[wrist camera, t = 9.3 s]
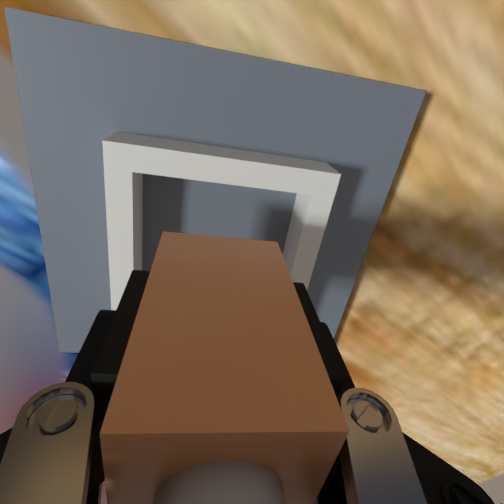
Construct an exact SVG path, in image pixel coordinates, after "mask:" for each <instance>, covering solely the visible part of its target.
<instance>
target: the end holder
mask: <svg viewBox="0 0 504 504" xmlns="http://www.w3.org/2000/svg"><path fill="white" fill-rule="evenodd" d="M4 8H5V14H6V20H7V26H8V33H9V39H10V45H11V51H12V58H13V64H14V70H15V76H16V82H17V88H18V95H19V101H20V107H21V113H22V120H23V126H24V132H25V139H26V145H27V151H28V157H29V164H30V170H31V176H32V182H33V189H34V195H35V201H36V207H37V214H38V220H39V226H40V232H41V239H42V245H43V251H44V257H45V264H46V270H47V276H48V282H49V289H50V295H51V301H52V307H53V314H54V320H55V326H56V332H57V339H58V345H59V351H60V352H78V353H79V352H80V350H81V347H82V345H83V343H84V341H85V339H86V337H87V335H88V333H89V331H90V328H91V326H92V324H93V322H94V320H95V318H96V316H97V314H98V312H99V311H100V310H117V307H118V305H119V302H120V300H121V297H122V295H123V292H124V290H125V287H126V285H127V282H128V280H129V277H130V275H131V273H132V270H144V271H151V268H152V264H153V261H154V258H155V255H156V252H157V248H158V245H159V242H160V239H161V236H162V232H163V231H166V232H176V233H187V234H198V235H209V236H220V237H231V238H242V239H252V240H263V241H274V242H278V244H279V247H280V250H281V252H282V255H283V258H284V260H285V263H286V266H287V268H288V271H289V273H290V276H291V279H292V281H293V282H298V283H304V285H305V287H306V290H307V292H308V294H309V297H310V299H311V301H312V304H313V306H314V308H315V311H316V313H317V315H318V318H319V320H320V322H324V323H326V324H327V326H328V328H329V330H330V332H331V334H332V337H333V339H334V336H335V334H336V331H337V328H338V326H339V323H340V320H341V318H342V315H343V312H344V310H345V307H346V304H347V302H348V299H349V296H350V294H351V291H352V288H353V286H354V283H355V280H356V278H357V275H358V272H359V270H360V267H361V264H362V262H363V259H364V256H365V254H366V251H367V248H368V246H369V243H370V240H371V238H372V235H373V232H374V230H375V227H376V224H377V222H378V219H379V216H380V214H381V211H382V208H383V206H384V203H385V200H386V198H387V195H388V192H389V190H390V187H391V184H392V182H393V179H394V176H395V174H396V171H397V168H398V166H399V163H400V160H401V158H402V155H403V152H404V149H405V147H406V144H407V141H408V139H409V136H410V133H411V131H412V128H413V125H414V123H415V120H416V117H417V115H418V112H419V109H420V107H421V104H422V101H423V99H424V96H425V93H426V91H425V90H420V89H415V88H410V87H405V86H400V85H395V84H390V83H385V82H380V81H375V80H370V79H365V78H360V77H355V76H350V75H345V74H340V73H335V72H330V71H325V70H320V69H315V68H310V67H305V66H300V65H295V64H290V63H284V62H279V61H274V60H269V59H264V58H259V57H254V56H249V55H244V54H239V53H234V52H229V51H224V50H219V49H214V48H209V47H204V46H199V45H194V44H189V43H184V42H179V41H174V40H169V39H164V38H159V37H154V36H149V35H144V34H139V33H134V32H129V31H124V30H119V29H114V28H109V27H104V26H99V25H94V24H89V23H84V22H79V21H74V20H68V19H63V18H58V17H53V16H48V15H43V14H38V13H33V12H28V11H23V10H18V9H13V8H8V7H4Z"/></svg>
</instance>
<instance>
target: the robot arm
mask: <svg viewBox="0 0 504 504" xmlns="http://www.w3.org/2000/svg"><path fill="white" fill-rule="evenodd" d="M149 274H150V271H144V270H132V273H131V275H130V277H129V280H128V282H127V285H126V287H125V290H124V292H123V295H122V297H121V300H120V302H119V305H118V307H117V310H100V311H99V312H98V314H97V316H96V318H95V320H94V322H93V324H92V326H91V328H90V331H89V333H88V335H87V337H86V339H85V341H84V343H83V345H82V347H81V350H80V352H79V354H78V356H77V358H76V360H75V362H74V364H73V366H72V369H71V371H70V373H69V375H68V377H67V379H66V381H65V382H61V383H57V384H53V385H50V386H48V387H46V388H43V389H42V390H40V391H38V392H37V393H35V394H34V395H33V396H31V397H30V398H29V399H28V400H27V401H26V402H25V403H24V404H23V406H22V407H21V409H20V411H19V413H18V415H17V417H16V420H15V423H14V426H13V427H12V428H11V429H9V430H7V431H6V432H4V433H2V434H0V504H101V494H102V482H103V481H105V477H104V468H103V460H102V451H101V442H100V431H101V428H102V425H103V421H104V418H105V415H106V412H107V409H108V405H109V402H110V399H111V396H112V393H113V389H114V386H115V383H116V380H117V377H118V373H119V370H120V367H121V364H122V360H123V357H124V354H125V351H126V348H127V344H128V341H129V338H130V335H131V332H132V328H133V325H134V322H135V319H136V316H137V312H138V309H139V306H140V303H141V300H142V296H143V293H144V290H145V287H146V284H147V280H148V277H149ZM293 284H294V287H295V289H296V292H297V295H298V297H299V300H300V302H301V305H302V308H303V310H304V313H305V316H306V318H307V321H308V324H309V326H310V329H311V331H312V334H313V337H314V339H315V342H316V345H317V347H318V350H319V353H320V355H321V358H322V360H323V363H324V366H325V368H326V371H327V374H328V376H329V379H330V382H331V384H332V387H333V389H334V392H335V395H336V397H337V400H338V403H339V405H340V408H341V411H342V413H343V416H344V418H345V421H346V424H347V426H348V429H349V433H348V435H347V437H346V439H345V441H344V443H343V445H342V447H341V450H340V452H339V454H338V456H337V458H336V460H335V462H334V464H333V466H332V468H331V470H330V472H329V474H328V476H327V478H326V480H325V482H324V484H323V486H322V488H321V490H320V492H319V494H318V496H317V498H316V501H315V503H314V504H494V502H493V501H492V499H491V498H490V497H489V496H488V495H487V493H486V492H485V491H484V490H483V489H482V488H481V487H480V486H479V485H477V484H476V483H475V482H474V481H472V480H471V479H470V478H468V477H467V476H465V475H464V474H462V473H461V472H460V471H458V470H457V469H455V468H454V467H452V466H451V465H449V464H448V463H446V462H445V461H444V460H442V459H441V458H439V457H438V456H436V455H435V454H433V453H432V452H430V451H429V450H428V449H426V448H425V447H423V446H422V445H420V444H419V443H417V442H416V441H414V440H413V439H412V438H410V437H409V436H407V435H406V434H404V433H403V432H402V430H401V427H400V424H399V421H398V418H397V416H396V414H395V412H394V410H393V408H392V407H391V406H390V405H389V403H388V402H387V401H386V400H385V399H383V398H382V397H381V396H380V395H378V394H376V393H375V392H373V391H371V390H368V389H364V388H355V386H354V384H353V381H352V379H351V377H350V375H349V372H348V370H347V368H346V366H345V363H344V361H343V359H342V357H341V355H340V352H339V350H338V348H337V346H336V343H335V341H334V339H333V337H332V334H331V332H330V330H329V328H328V326H327V324H326V323H324V322H320V320H319V318H318V315H317V313H316V311H315V308H314V306H313V304H312V301H311V299H310V297H309V294H308V292H307V290H306V287H305V285H304V283H298V282H293ZM501 504H502V503H501Z"/></svg>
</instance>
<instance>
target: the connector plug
mask: <svg viewBox="0 0 504 504" xmlns="http://www.w3.org/2000/svg"><path fill="white" fill-rule="evenodd" d="M348 433H349V429H348V426H347V424H346V421H345V418H344V416H343V413H342V411H341V408H340V405H339V403H338V400H337V397H336V395H335V392H334V389H333V387H332V384H331V382H330V379H329V376H328V374H327V371H326V368H325V366H324V363H323V360H322V358H321V355H320V353H319V350H318V347H317V345H316V342H315V339H314V337H313V334H312V331H311V329H310V326H309V324H308V321H307V318H306V316H305V313H304V310H303V308H302V305H301V302H300V300H299V297H298V295H297V292H296V289H295V287H294V284H293V281H292V279H291V276H290V273H289V271H288V268H287V266H286V263H285V260H284V258H283V255H282V252H281V250H280V247H279V244H278V242H274V241H263V240H252V239H242V238H231V237H220V236H209V235H198V234H187V233H176V232H166V231H163V232H162V236H161V239H160V242H159V245H158V248H157V252H156V255H155V258H154V261H153V264H152V268H151V271H150V274H149V277H148V280H147V284H146V287H145V290H144V293H143V296H142V300H141V303H140V306H139V309H138V312H137V316H136V319H135V322H134V325H133V328H132V332H131V335H130V338H129V341H128V344H127V348H126V351H125V354H124V357H123V360H122V364H121V367H120V370H119V373H118V377H117V380H116V383H115V386H114V389H113V393H112V396H111V399H110V402H109V405H108V409H107V412H106V415H105V418H104V421H103V425H102V428H101V431H100V442H101V451H102V460H103V468H104V477H105V486H106V493H107V503H108V504H314V503H315V501H316V498H317V496H318V494H319V492H320V490H321V488H322V486H323V484H324V482H325V480H326V478H327V476H328V474H329V472H330V470H331V468H332V466H333V464H334V462H335V460H336V458H337V456H338V454H339V452H340V450H341V447H342V445H343V443H344V441H345V439H346V437H347V435H348Z"/></svg>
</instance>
